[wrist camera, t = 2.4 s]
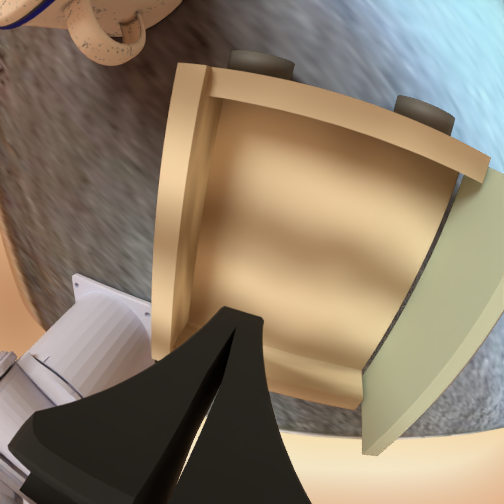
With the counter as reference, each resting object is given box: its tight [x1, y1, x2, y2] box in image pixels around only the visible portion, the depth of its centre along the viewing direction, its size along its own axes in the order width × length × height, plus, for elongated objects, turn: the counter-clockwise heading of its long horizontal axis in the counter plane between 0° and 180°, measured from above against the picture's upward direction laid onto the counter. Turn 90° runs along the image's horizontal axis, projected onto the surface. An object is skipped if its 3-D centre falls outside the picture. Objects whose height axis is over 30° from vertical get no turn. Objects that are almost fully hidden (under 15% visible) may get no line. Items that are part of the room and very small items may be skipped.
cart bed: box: [151, 50, 491, 410], centre depth 15 cm, size 18×13×5 cm
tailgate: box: [361, 167, 504, 456], centre depth 13 cm, size 15×2×6 cm, turn 168°
